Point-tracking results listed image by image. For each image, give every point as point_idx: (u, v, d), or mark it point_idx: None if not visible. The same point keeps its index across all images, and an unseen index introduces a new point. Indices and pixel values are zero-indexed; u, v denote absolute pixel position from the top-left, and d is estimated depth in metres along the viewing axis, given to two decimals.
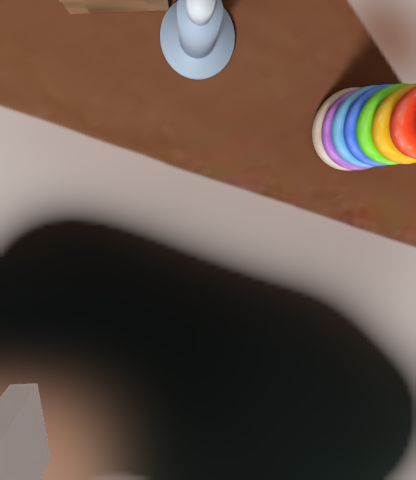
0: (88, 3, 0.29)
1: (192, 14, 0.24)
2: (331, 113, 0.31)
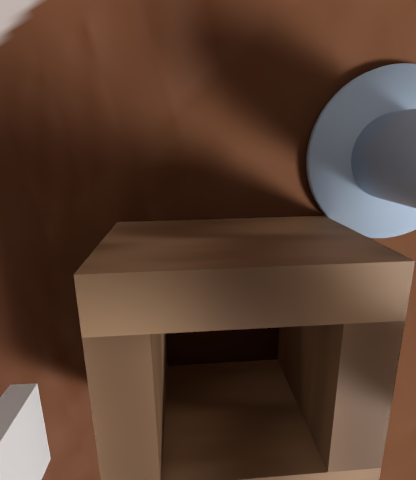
0: None
1: None
2: None
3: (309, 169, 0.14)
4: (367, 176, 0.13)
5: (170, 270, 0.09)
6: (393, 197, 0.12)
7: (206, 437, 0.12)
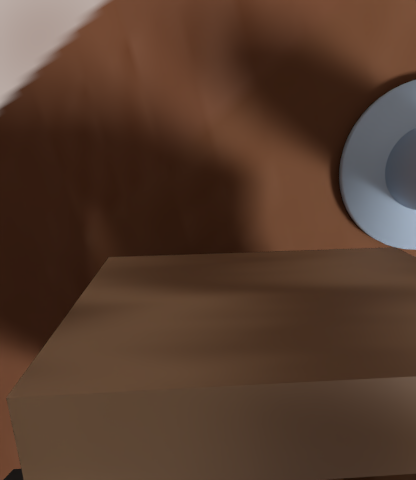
0: None
1: None
2: None
3: (342, 180, 0.14)
4: (402, 188, 0.13)
5: (187, 385, 0.05)
6: None
7: None
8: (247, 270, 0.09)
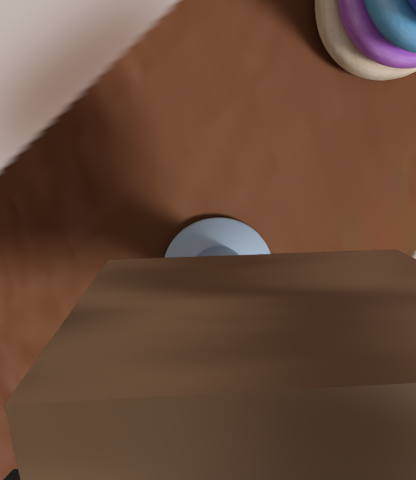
0: None
1: None
2: (385, 50, 0.16)
3: None
4: None
5: (186, 392, 0.05)
6: None
7: None
8: (248, 273, 0.09)
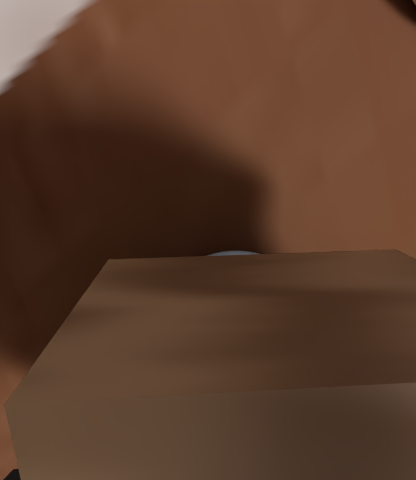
0: None
1: None
2: None
3: None
4: None
5: (186, 392, 0.05)
6: None
7: None
8: (247, 273, 0.09)
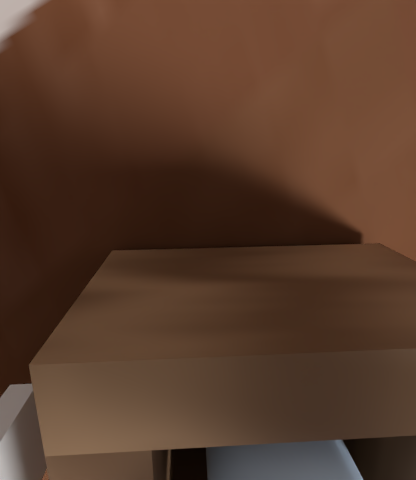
0: None
1: None
2: None
3: None
4: None
5: (183, 356, 0.05)
6: None
7: None
8: (241, 263, 0.10)
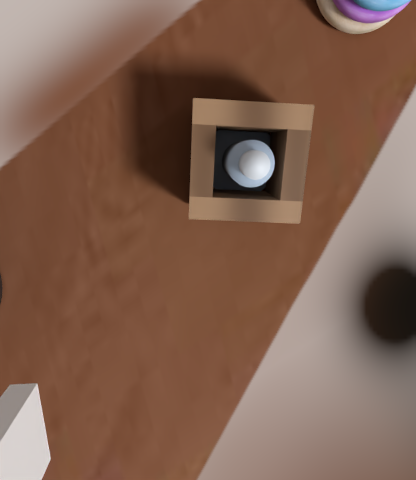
0: None
1: None
2: (353, 9, 0.26)
3: None
4: (223, 168, 0.31)
5: None
6: None
7: (230, 195, 0.28)
8: None
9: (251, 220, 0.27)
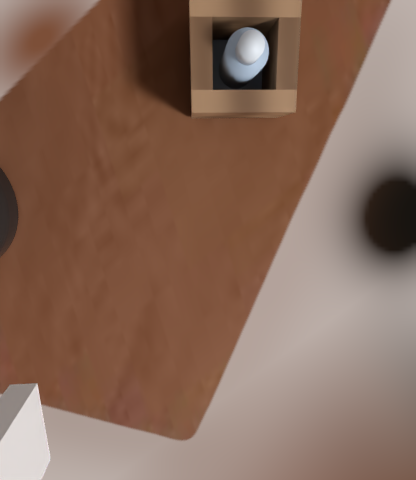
0: None
1: (260, 55, 0.26)
2: None
3: None
4: (221, 74, 0.33)
5: None
6: (227, 80, 0.32)
7: None
8: None
9: (250, 111, 0.29)
